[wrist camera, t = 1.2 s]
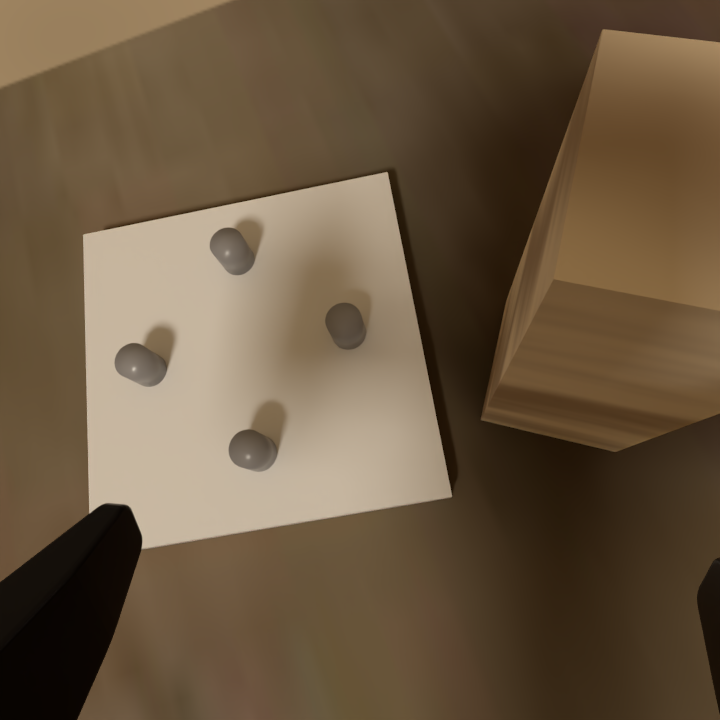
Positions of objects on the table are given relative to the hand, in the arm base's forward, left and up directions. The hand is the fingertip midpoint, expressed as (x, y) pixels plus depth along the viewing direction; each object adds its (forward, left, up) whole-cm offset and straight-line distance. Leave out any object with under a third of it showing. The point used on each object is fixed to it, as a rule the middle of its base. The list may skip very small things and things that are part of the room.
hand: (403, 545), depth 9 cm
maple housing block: (-2, -8, -14) cm, 16 cm away
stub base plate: (+9, -2, -14) cm, 17 cm away
